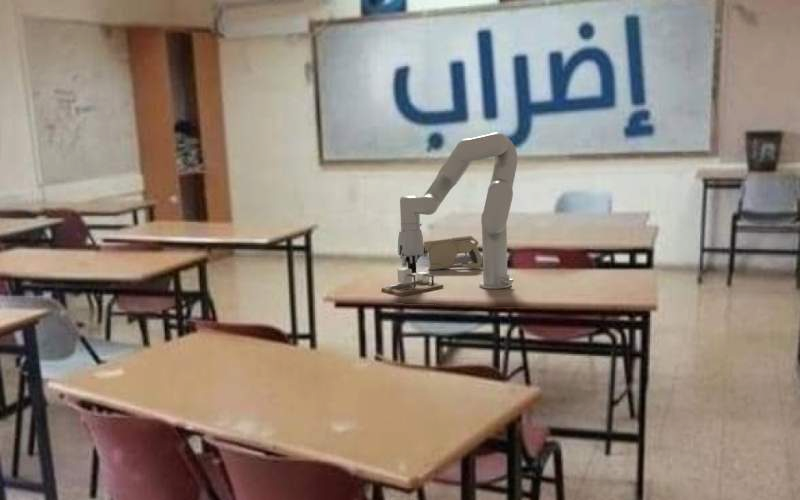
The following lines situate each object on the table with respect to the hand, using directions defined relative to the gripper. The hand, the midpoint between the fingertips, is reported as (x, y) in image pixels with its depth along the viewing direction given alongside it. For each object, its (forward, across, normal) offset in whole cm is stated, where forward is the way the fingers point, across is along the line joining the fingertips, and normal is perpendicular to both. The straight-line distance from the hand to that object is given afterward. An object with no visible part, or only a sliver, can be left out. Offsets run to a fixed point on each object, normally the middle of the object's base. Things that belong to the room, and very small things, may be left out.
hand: (412, 272), depth 318 cm
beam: (+5, +2, +2) cm, 6 cm away
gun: (+6, -35, -15) cm, 39 cm away
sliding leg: (+4, +4, +2) cm, 6 cm away
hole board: (+6, +3, +3) cm, 7 cm away
